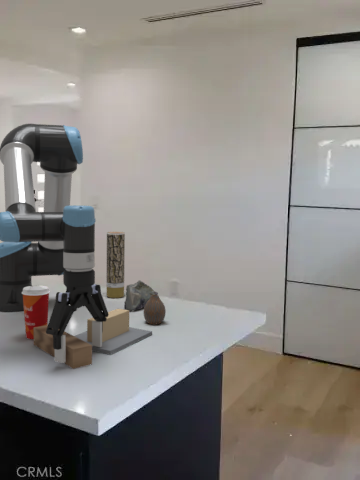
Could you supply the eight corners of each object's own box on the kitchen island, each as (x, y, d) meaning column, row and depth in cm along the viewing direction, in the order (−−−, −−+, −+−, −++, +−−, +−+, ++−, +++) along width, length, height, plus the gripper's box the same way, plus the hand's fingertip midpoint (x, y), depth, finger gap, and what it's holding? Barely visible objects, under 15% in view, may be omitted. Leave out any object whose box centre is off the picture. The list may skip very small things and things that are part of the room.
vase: (138, 322, 153) (139, 295, 153) (154, 318, 159) (155, 292, 158) (154, 327, 149) (154, 299, 148) (169, 323, 154) (170, 295, 153)
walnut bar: (33, 345, 130) (33, 327, 130) (51, 342, 134) (51, 324, 133) (73, 370, 114) (73, 349, 113) (91, 365, 117) (91, 345, 117)
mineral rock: (156, 303, 179) (157, 276, 178) (163, 311, 169) (163, 282, 168) (121, 305, 176) (121, 277, 175) (125, 312, 165) (126, 283, 164)
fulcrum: (62, 343, 131) (62, 318, 131) (107, 326, 149) (107, 303, 148) (110, 354, 124) (110, 327, 123) (152, 334, 141) (152, 311, 140)
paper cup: (20, 334, 139) (20, 285, 138) (48, 331, 142) (47, 284, 141) (23, 342, 132) (22, 291, 131) (52, 339, 135) (52, 289, 134)
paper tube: (120, 299, 185) (121, 233, 182) (103, 297, 186) (104, 232, 184) (126, 295, 192) (126, 232, 189) (109, 294, 193) (110, 231, 190)
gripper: (54, 277, 106) (55, 372, 108) (121, 264, 128) (121, 342, 130) (29, 274, 109) (30, 366, 111) (99, 261, 131) (99, 338, 133)
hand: (79, 354), depth 120 cm, fingers open, 13 cm apart
